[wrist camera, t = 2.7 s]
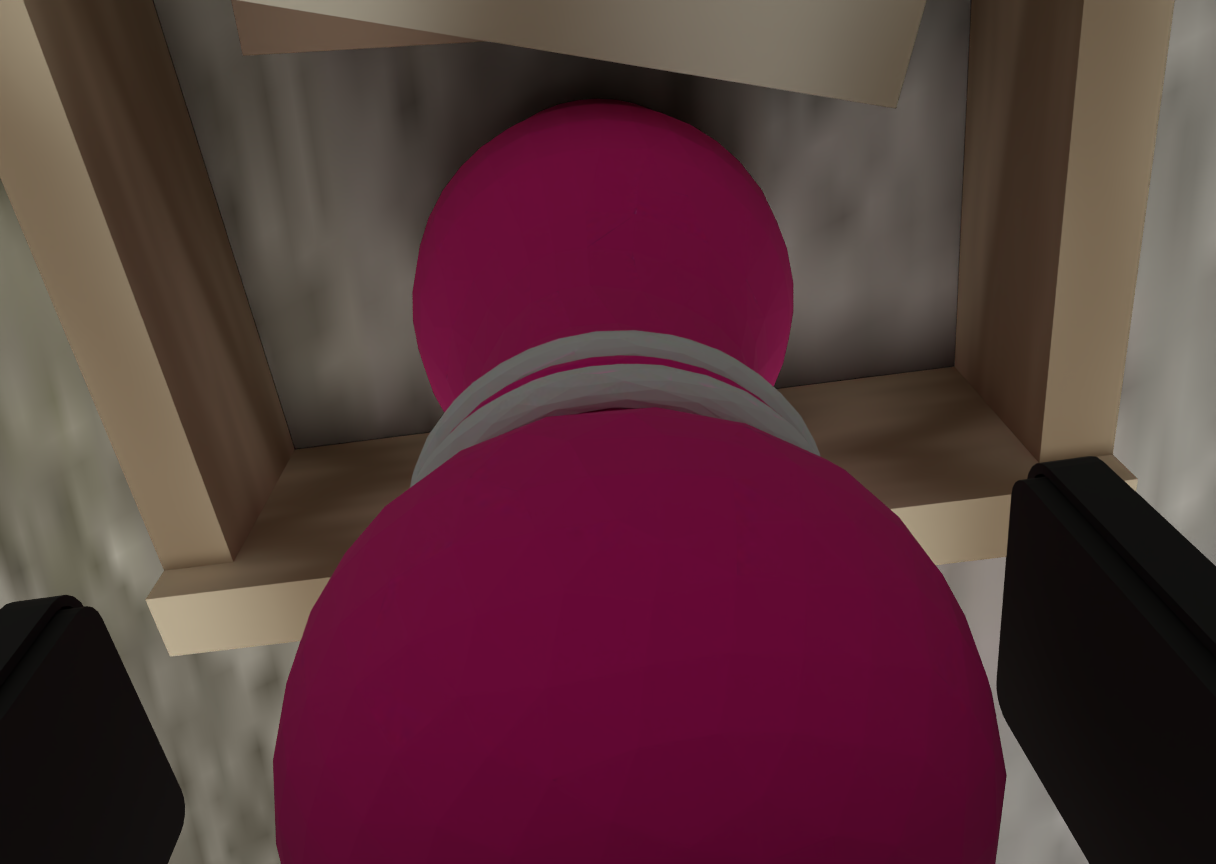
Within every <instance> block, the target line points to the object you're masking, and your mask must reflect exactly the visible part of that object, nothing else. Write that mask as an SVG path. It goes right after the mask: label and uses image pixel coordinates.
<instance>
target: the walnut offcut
mask: <svg viewBox="0 0 1216 864" xmlns="http://www.w3.org/2000/svg"><path fill="white" fill-rule="evenodd" d="M231 2H232V6H233V11H234V16H235V20H236V25H237V30H238V34H239V39H240V44H241V48H242V53H243V56H246V55H263V54H280V53H297V52H314V51H331V50H348V49H365V48H382V47H399V46H416V45H433V44H450V43H467V42H484V41H483V40H476V39H470V38H464V37H458V36H452V35H446V34H440V33H434V32H428V31H422V30H416V29H410V28H404V27H397V26H391V25H385V24H379V23H373V22H367V21H361V20H355V19H349V18H343V17H337V16H331V15H325V14H318V13H312V12H306V11H300V10H294V9H288V8H282V7H276V6H270V5H264V4H258V3H252V2H246V1H239V0H231Z"/></svg>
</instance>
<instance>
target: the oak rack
mask: <svg viewBox="0 0 1216 864" xmlns="http://www.w3.org/2000/svg"><path fill="white" fill-rule="evenodd" d="M1174 2H1175V0H972V2H971V23H970V45H969V66H968V88H967V109H966V131H965V153H964V174H963V196H962V217H961V239H960V260H959V282H958V303H957V325H956V346H955V367H947V368H939V369H931V370H923V371H915V372H907V373H899V374H892V375H884V376H876V377H868V378H860V379H852V380H844V381H836V382H828V383H820V384H812V385H804V386H796V387H788V388H780V389H777V390H778V391H779V392H780V393H781V394H782V395H783V396H784V397H785V398H786V400H787V401H788V402H789V403H790V404H791V405H792V406H793V407H794V409H795V410H796V411H797V412H798V413H799V414H800V415H801V417H802V419H803V421H804V423H805V424H806V426H807V428H808V430H809V432H810V433H811V435H812V437H813V439H814V440H815V443H816V445H817V448H818V451H819V453H820V456H821V457H822V458H825V459H827V460H828V461H830V462H832V463H834V464H836V465H838V466H839V467H841V468H843V469H845V470H846V471H847V472H848V473H849V474H850V475H852V476H853V477H854V478H855V479H856V480H857V481H858V482H860V483H861V484H862V485H863V486H864V487H865V488H866V489H868V490H869V491H870V492H871V493H872V494H873V495H874V496H876V497H877V498H878V499H879V500H880V501H881V502H883V503H884V504H885V505H886V506H887V507H888V508H889V509H891V510H892V511H893V512H894V513H895V514H896V515H897V516H899V517H900V519H901V520H902V521H903V523H904V524H905V525H906V527H907V528H908V529H909V531H910V532H911V533H912V535H913V536H914V537H915V539H916V540H917V541H918V543H919V544H920V545H921V547H922V548H923V549H924V551H925V552H926V553H927V555H928V556H929V557H930V559H931V560H932V561H933V563H934V564H935V565H940V564H948V563H957V562H965V561H974V560H982V559H990V558H999V557H1006V555H1007V542H1008V529H1009V517H1010V504H1011V493H1012V488H1013V486H1014V484H1015V482H1017V481H1018V480H1023V479H1027V477H1028V473H1029V471H1030V469H1031V467H1032V466H1033V465H1035V464H1036V463H1042V462H1049V461H1057V460H1064V459H1071V458H1079V457H1086V456H1096V457H1098V458H1099V459H1101V460H1102V461H1104V462H1105V463H1106V464H1107V465H1108V466H1109V467H1110V468H1111V469H1112V470H1113V471H1114V472H1115V473H1116V474H1117V475H1119V476H1120V477H1121V478H1122V479H1123V480H1124V481H1125V482H1126V483H1127V484H1128V485H1129V486H1130V487H1131V488H1132V489H1134V490H1135V491H1136V489H1137V482H1138V479H1137V478H1136V477H1135V476H1134V475H1133V474H1132V473H1131V472H1130V471H1129V470H1128V469H1127V468H1126V467H1125V466H1124V465H1123V464H1122V463H1121V462H1120V461H1119V460H1118V459H1117V458H1116V457H1115V456H1114V455H1113V449H1114V441H1115V434H1116V427H1117V419H1118V412H1119V405H1120V397H1121V390H1122V383H1123V375H1124V368H1125V361H1126V353H1127V346H1128V339H1129V331H1130V324H1131V317H1132V309H1133V302H1134V295H1135V287H1136V280H1137V273H1138V265H1139V258H1140V251H1141V244H1142V236H1143V229H1144V222H1145V214H1146V207H1147V200H1148V192H1149V185H1150V178H1151V170H1152V163H1153V156H1154V148H1155V141H1156V134H1157V126H1158V119H1159V112H1160V104H1161V97H1162V90H1163V82H1164V75H1165V68H1166V60H1167V53H1168V46H1169V39H1170V31H1171V24H1172V17H1173V9H1174ZM0 178H1V180H2V183H3V185H4V188H5V190H6V192H7V195H8V197H9V200H10V202H11V204H12V207H13V209H14V212H15V214H16V216H17V219H18V221H19V224H20V226H21V228H22V231H23V233H24V236H25V238H26V240H27V243H28V245H29V248H30V250H31V252H32V255H33V257H34V259H35V262H36V264H37V267H38V269H39V271H40V274H41V276H42V279H43V281H44V283H45V286H46V288H47V291H48V293H49V295H50V298H51V300H52V303H53V305H54V307H55V310H56V312H57V315H58V317H59V319H60V322H61V324H62V327H63V329H64V331H65V334H66V336H67V339H68V341H69V343H70V346H71V348H72V351H73V353H74V355H75V358H76V360H77V363H78V365H79V367H80V370H81V372H82V375H83V377H84V379H85V382H86V384H87V387H88V389H89V391H90V394H91V396H92V399H93V401H94V403H95V406H96V408H97V411H98V413H99V415H100V418H101V420H102V423H103V425H104V427H105V430H106V432H107V435H108V437H109V439H110V442H111V444H112V447H113V449H114V451H115V454H116V456H117V458H118V461H119V463H120V466H121V468H122V470H123V473H124V475H125V478H126V480H127V482H128V485H129V487H130V490H131V492H132V494H133V497H134V499H135V502H136V504H137V506H138V509H139V511H140V514H141V516H142V518H143V521H144V523H145V526H146V528H147V530H148V533H149V535H150V538H151V540H152V542H153V545H154V547H155V550H156V552H157V554H158V557H159V559H160V562H161V564H162V566H163V569H164V572H163V573H162V575H161V576H160V578H159V580H158V581H157V583H156V584H155V586H154V587H153V589H152V590H151V592H150V593H149V595H148V597H147V598H146V602H147V604H148V607H149V609H150V611H151V613H152V616H153V618H154V620H155V623H156V625H157V627H158V629H159V632H160V634H161V636H162V639H163V641H164V643H165V646H166V648H167V650H168V652H169V655H170V656H178V655H187V654H195V653H203V652H212V651H220V650H228V649H237V648H245V647H254V646H262V645H270V644H279V643H287V642H295V641H301V638H302V635H303V632H304V629H305V626H306V623H307V620H308V617H309V614H310V612H311V610H312V608H313V606H314V605H315V603H316V601H317V600H318V598H319V596H320V595H321V593H322V591H323V590H324V588H325V586H326V584H327V583H328V581H329V579H330V578H331V576H332V574H333V573H334V571H335V569H336V568H337V566H338V564H339V563H340V561H341V559H342V557H343V556H344V554H345V553H346V551H347V550H348V549H349V548H350V547H351V546H352V544H353V543H354V542H355V541H356V540H357V539H358V537H359V536H360V535H361V534H362V533H363V532H364V530H365V529H366V528H367V527H368V526H369V524H370V523H371V522H372V521H373V520H374V519H375V517H376V516H377V515H378V514H379V513H380V512H381V510H382V509H383V508H384V507H385V506H386V505H387V504H389V503H390V502H392V501H393V500H394V499H396V498H397V497H398V496H400V495H401V494H402V493H404V492H405V491H406V490H408V489H409V488H410V485H411V480H412V475H413V472H414V469H415V466H416V464H417V461H418V459H419V456H420V454H421V451H422V449H423V447H424V444H425V442H426V439H427V437H428V435H429V434H430V433H423V434H415V435H407V436H399V437H391V438H383V439H375V440H367V441H360V442H352V443H344V444H336V445H328V446H320V447H312V448H304V449H296V450H295V449H294V445H293V442H292V439H291V436H290V433H289V430H288V427H287V423H286V420H285V417H284V414H283V411H282V408H281V404H280V401H279V398H278V395H277V392H276V389H275V386H274V382H273V379H272V376H271V373H270V370H269V367H268V363H267V360H266V357H265V354H264V351H263V348H262V344H261V341H260V338H259V335H258V332H257V329H256V326H255V322H254V319H253V316H252V313H251V310H250V307H249V303H248V300H247V297H246V294H245V291H244V288H243V284H242V281H241V278H240V275H239V272H238V269H237V266H236V262H235V259H234V256H233V253H232V250H231V247H230V243H229V240H228V237H227V234H226V231H225V228H224V225H223V221H222V218H221V215H220V212H219V209H218V206H217V202H216V199H215V196H214V193H213V190H212V187H211V183H210V180H209V177H208V174H207V171H206V168H205V165H204V161H203V158H202V155H201V152H200V149H199V146H198V142H197V139H196V136H195V133H194V130H193V127H192V124H191V120H190V117H189V114H188V111H187V108H186V105H185V101H184V98H183V95H182V92H181V89H180V86H179V82H178V79H177V76H176V73H175V70H174V67H173V64H172V60H171V57H170V54H169V51H168V48H167V45H166V41H165V38H164V35H163V32H162V29H161V26H160V23H159V19H158V16H157V13H156V10H155V7H154V4H153V0H0Z"/></svg>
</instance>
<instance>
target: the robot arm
mask: <svg viewBox="0 0 1216 864" xmlns="http://www.w3.org/2000/svg"><path fill="white" fill-rule="evenodd" d="M997 695H998V700H999V705H1000V708H1001V711H1002V714H1003V716H1004V718H1005V720H1006V722H1007V724H1008V726H1009V727H1010V729H1011V731H1012V732H1013V734H1014V736H1015V737H1016V739H1017V741H1018V743H1019V744H1020V746H1021V748H1022V749H1023V751H1024V753H1025V755H1026V756H1027V758H1028V760H1029V761H1030V763H1031V765H1032V766H1033V768H1034V770H1035V772H1036V773H1037V775H1038V777H1039V778H1040V780H1041V782H1042V783H1043V785H1044V787H1045V789H1046V790H1047V792H1048V794H1049V795H1050V797H1051V799H1052V801H1053V802H1054V804H1055V806H1056V807H1057V809H1058V811H1059V812H1060V814H1061V816H1062V818H1063V819H1064V821H1065V823H1066V824H1067V826H1068V828H1069V830H1070V831H1071V833H1072V835H1073V836H1074V838H1075V840H1076V841H1077V843H1078V845H1079V847H1080V848H1081V850H1082V852H1083V853H1084V855H1085V857H1086V859H1087V860H1088V862H1089V864H1216V566H1215V565H1214V564H1213V563H1212V562H1211V561H1210V560H1208V559H1207V558H1206V557H1205V556H1204V555H1203V554H1202V553H1201V552H1200V551H1199V550H1198V549H1197V548H1196V547H1195V546H1193V545H1192V544H1191V543H1190V542H1189V541H1188V540H1187V539H1186V538H1185V537H1184V536H1183V535H1182V534H1181V533H1180V532H1178V531H1177V530H1176V529H1175V528H1174V527H1173V526H1172V525H1171V524H1170V523H1169V522H1168V521H1167V520H1166V519H1165V518H1164V517H1162V516H1161V515H1160V514H1159V513H1158V512H1157V511H1156V510H1155V509H1154V508H1153V507H1152V506H1151V505H1150V504H1149V503H1147V502H1146V501H1145V500H1144V499H1143V498H1142V497H1141V496H1140V495H1139V494H1138V493H1137V492H1136V491H1135V490H1134V489H1132V488H1131V487H1130V486H1129V485H1128V484H1127V483H1126V482H1125V481H1124V480H1123V479H1122V478H1121V477H1120V476H1119V475H1117V474H1116V473H1115V472H1114V471H1113V470H1112V469H1111V468H1110V467H1109V466H1108V465H1107V464H1106V463H1105V462H1104V461H1102V460H1101V459H1099V458H1098V457H1096V456H1086V457H1079V458H1071V459H1064V460H1057V461H1049V462H1042V463H1036V464H1035V465H1033V466H1032V467H1031V469H1030V471H1029V473H1028V477H1027V479H1023V480H1018V481H1017V482H1015V484H1014V486H1013V488H1012V493H1011V504H1010V517H1009V529H1008V542H1007V555H1006V567H1005V580H1004V593H1003V606H1002V618H1001V631H1000V644H999V656H998V669H997ZM184 817H185V803H184V797H183V794H182V791H181V788H180V786H179V784H178V782H177V780H176V777H175V775H174V773H173V771H172V769H171V767H170V764H169V762H168V760H167V758H166V756H165V754H164V751H163V749H162V747H161V745H160V743H159V741H158V738H157V736H156V734H155V732H154V730H153V728H152V725H151V723H150V721H149V719H148V717H147V715H146V712H145V710H144V708H143V706H142V704H141V702H140V699H139V697H138V695H137V693H136V691H135V689H134V686H133V684H132V682H131V680H130V678H129V676H128V673H127V671H126V669H125V667H124V665H123V663H122V660H121V658H120V656H119V654H118V652H117V650H116V647H115V645H114V643H113V641H112V639H111V637H110V634H109V632H108V630H107V628H106V626H105V624H104V621H103V619H102V617H101V616H100V614H99V613H98V611H96V610H95V609H94V608H93V607H88V606H86V607H84V606H83V605H82V603H81V602H80V601H79V600H77V599H76V598H75V597H73V596H69V595H62V596H54V597H47V598H39V599H32V600H25V601H17V602H12V603H9V604H6V605H5V606H4V607H3V608H1V609H0V864H168V862H169V859H170V857H171V855H172V852H173V850H174V847H175V845H176V843H177V840H178V838H179V835H180V833H181V830H182V827H183V823H184Z"/></svg>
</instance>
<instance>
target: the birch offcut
mask: <svg viewBox="0 0 1216 864" xmlns="http://www.w3.org/2000/svg"><path fill="white" fill-rule="evenodd" d="M239 1H246V2H252V3H258V4H264V5H270V6H276V7H282V8H288V9H294V10H300V11H306V12H312V13H318V14H325V15H331V16H337V17H343V18H349V19H355V20H361V21H367V22H373V23H379V24H385V25H391V26H397V27H404V28H410V29H416V30H422V31H428V32H434V33H440V34H446V35H452V36H458V37H464V38H470V39H476V40H483V41H489V42H495V43H501V44H507V45H513V46H519V47H525V48H531V49H537V50H543V51H549V52H555V53H561V54H568V55H574V56H580V57H586V58H592V59H598V60H604V61H610V62H616V63H622V64H628V65H634V66H640V67H647V68H653V69H659V70H665V71H671V72H677V73H683V74H689V75H695V76H701V77H707V78H713V79H719V80H726V81H732V82H738V83H744V84H750V85H756V86H762V87H768V88H774V89H780V90H786V91H792V92H798V93H805V94H811V95H817V96H823V97H829V98H835V99H841V100H847V101H853V102H859V103H865V104H871V105H877V106H884V107H890V108H896V107H897V103H898V100H899V96H900V93H901V89H902V85H903V82H904V78H905V75H906V71H907V68H908V64H909V61H910V57H911V54H912V50H913V47H914V43H915V40H916V36H917V32H918V29H919V25H920V22H921V18H922V15H923V11H924V8H925V4H926V1H927V0H239Z"/></svg>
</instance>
